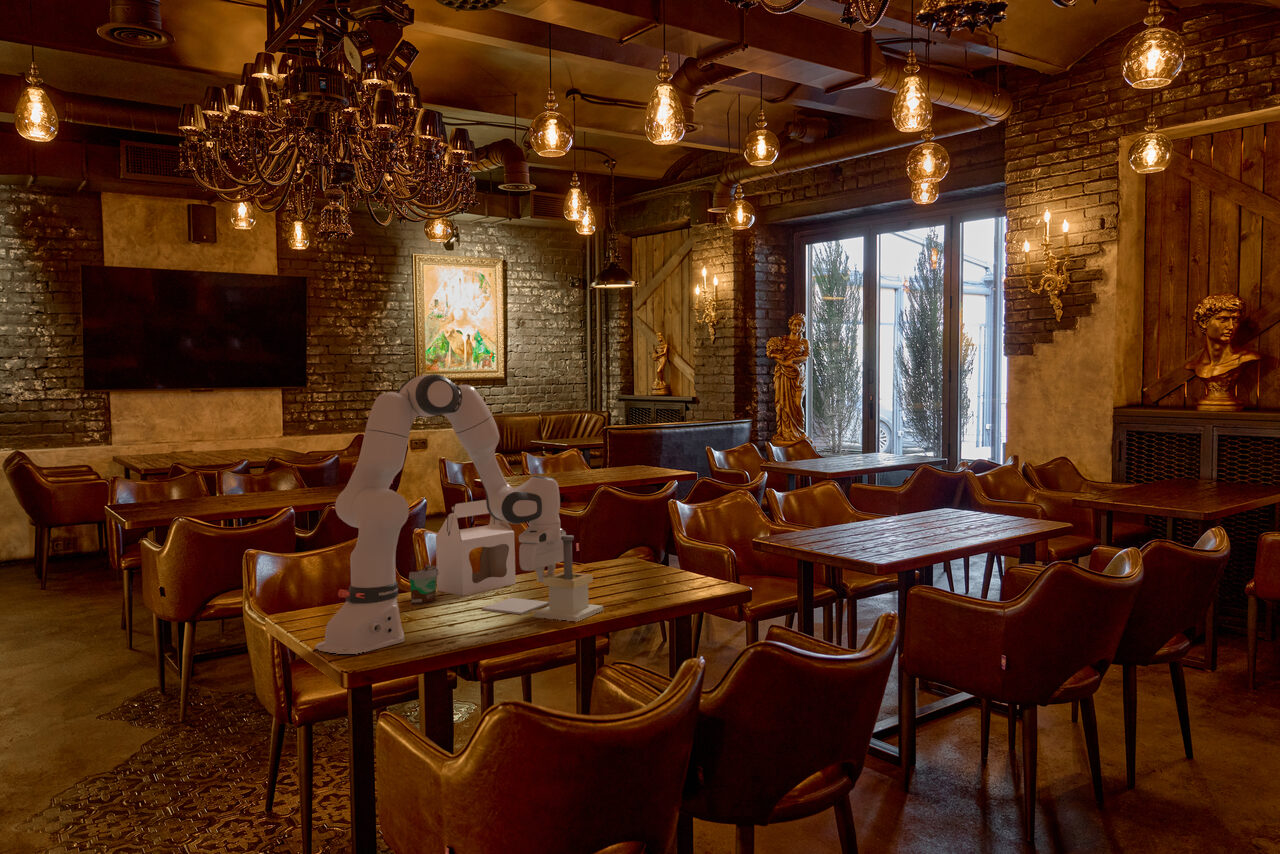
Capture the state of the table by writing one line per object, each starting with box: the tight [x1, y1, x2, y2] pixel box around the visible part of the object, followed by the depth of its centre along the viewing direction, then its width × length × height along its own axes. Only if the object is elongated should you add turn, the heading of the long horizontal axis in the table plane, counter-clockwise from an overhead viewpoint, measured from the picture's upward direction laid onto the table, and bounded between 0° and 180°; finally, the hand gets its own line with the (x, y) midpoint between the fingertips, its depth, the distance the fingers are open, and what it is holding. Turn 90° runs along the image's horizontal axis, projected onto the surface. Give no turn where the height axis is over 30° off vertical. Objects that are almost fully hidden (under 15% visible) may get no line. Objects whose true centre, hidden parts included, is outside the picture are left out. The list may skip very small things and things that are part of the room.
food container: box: [408, 564, 439, 606], centre depth 273 cm, size 12×6×10 cm, turn 168°
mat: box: [481, 597, 549, 615], centre depth 264 cm, size 14×14×1 cm
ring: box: [536, 571, 594, 589], centre depth 255 cm, size 10×15×2 cm, turn 62°
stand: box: [533, 534, 604, 623], centre depth 253 cm, size 14×14×22 cm
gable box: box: [435, 499, 517, 597], centre depth 291 cm, size 22×13×28 cm, turn 139°
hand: (546, 580), depth 257 cm, fingers closed on ring, 2 cm apart
